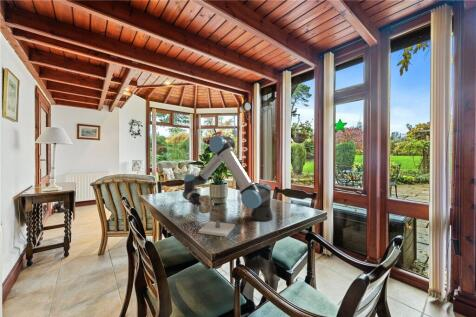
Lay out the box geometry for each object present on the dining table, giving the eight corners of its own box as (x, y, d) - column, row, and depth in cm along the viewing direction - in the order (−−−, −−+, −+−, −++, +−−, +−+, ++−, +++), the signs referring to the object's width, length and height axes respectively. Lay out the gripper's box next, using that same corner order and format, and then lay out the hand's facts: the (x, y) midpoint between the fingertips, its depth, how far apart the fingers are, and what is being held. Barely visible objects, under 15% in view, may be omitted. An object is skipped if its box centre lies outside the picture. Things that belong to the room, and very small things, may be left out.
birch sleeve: (207, 210, 141) (207, 195, 141) (211, 212, 136) (211, 196, 136) (198, 211, 138) (198, 195, 138) (202, 213, 133) (202, 197, 133)
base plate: (235, 226, 128) (235, 218, 128) (226, 236, 113) (226, 227, 113) (210, 223, 133) (210, 215, 133) (198, 232, 117) (198, 223, 117)
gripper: (206, 201, 157) (221, 208, 138) (181, 204, 147) (194, 212, 127) (206, 191, 157) (222, 196, 138) (181, 193, 146) (194, 199, 127)
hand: (208, 204), depth 133 cm, fingers closed on birch sleeve, 6 cm apart
